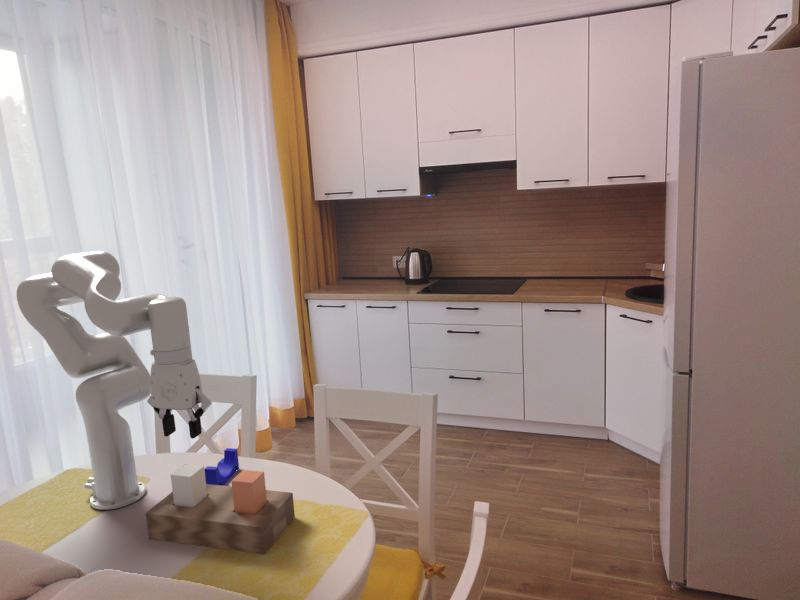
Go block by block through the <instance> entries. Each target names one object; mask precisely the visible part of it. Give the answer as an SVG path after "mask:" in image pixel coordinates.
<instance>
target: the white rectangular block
mask: <svg viewBox="0 0 800 600" xmlns="http://www.w3.org/2000/svg"><path fill="white" fill-rule="evenodd" d="M204 469H205V466H204V465H196V464H195V465H194V464H184V465H182V466H181V467H179V468H178V469H176V470H175V471H174V472H172V473H171V474H170V480H171V487H172V488H171V489H172V492H173V497H174V505H176V506H185V507H194V508H195V507H196V506H197V505H198V504H199V503H200V502H201V501H203V500H204V499H205V498H206V497H207V489H206V480H205V471H204Z"/></svg>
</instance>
